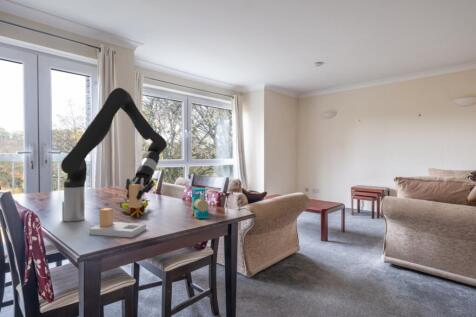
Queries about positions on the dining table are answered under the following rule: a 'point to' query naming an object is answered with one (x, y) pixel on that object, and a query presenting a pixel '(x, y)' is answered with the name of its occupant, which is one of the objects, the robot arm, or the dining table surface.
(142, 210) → the toy
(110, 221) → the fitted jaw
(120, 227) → the plate
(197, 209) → the teal food carton
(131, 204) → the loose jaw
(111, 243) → the dining table surface
